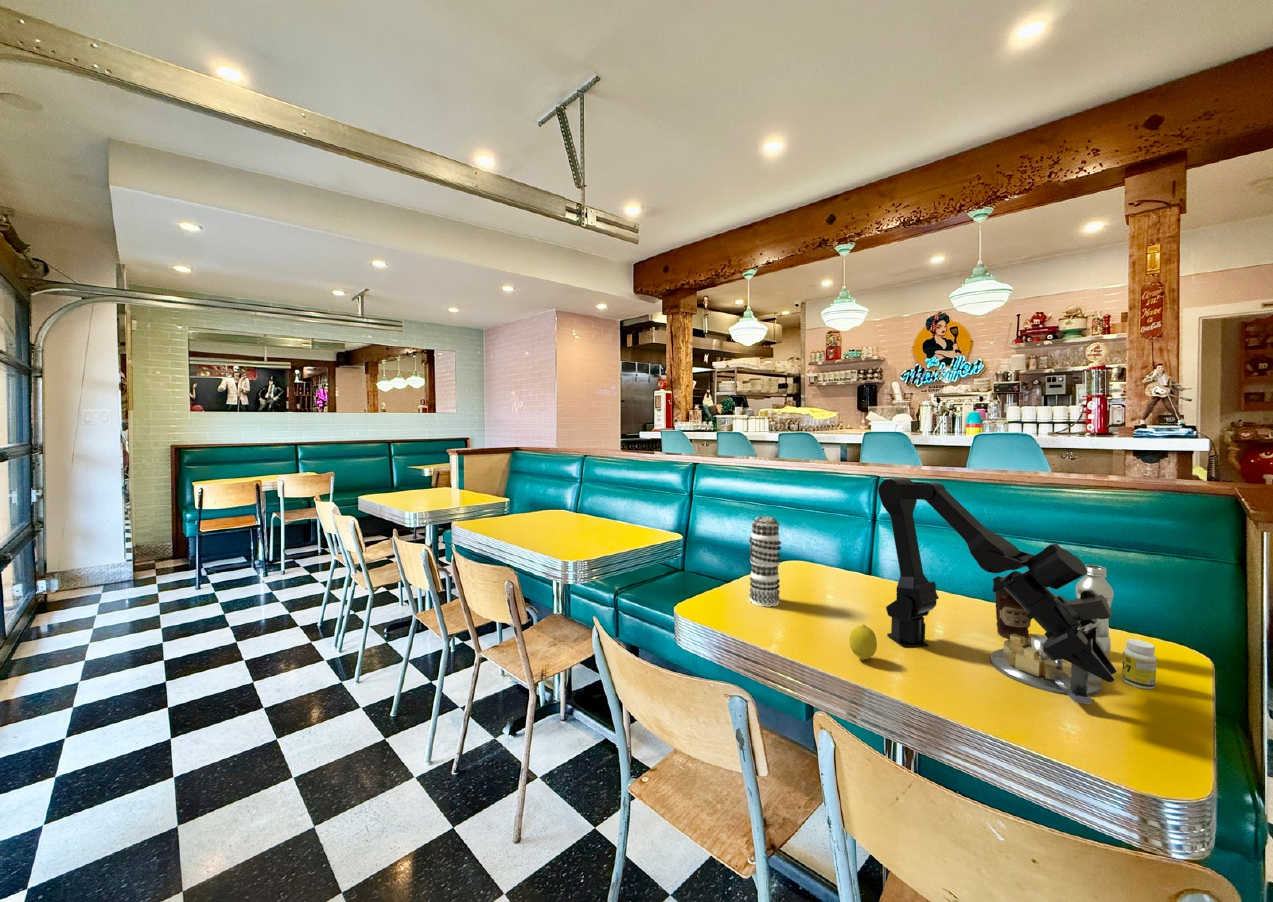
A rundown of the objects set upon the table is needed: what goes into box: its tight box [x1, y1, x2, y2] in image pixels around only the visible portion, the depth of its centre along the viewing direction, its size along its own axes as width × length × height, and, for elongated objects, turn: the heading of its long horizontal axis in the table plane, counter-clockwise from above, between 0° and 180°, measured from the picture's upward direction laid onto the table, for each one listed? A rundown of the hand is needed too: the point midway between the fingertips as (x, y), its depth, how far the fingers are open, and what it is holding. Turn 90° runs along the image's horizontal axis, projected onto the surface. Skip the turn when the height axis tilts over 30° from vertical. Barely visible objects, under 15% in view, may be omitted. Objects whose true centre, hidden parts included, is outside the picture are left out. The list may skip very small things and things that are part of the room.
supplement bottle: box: [1121, 638, 1158, 690], centre depth 99 cm, size 5×5×8 cm
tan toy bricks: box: [1003, 633, 1092, 705], centre depth 100 cm, size 22×13×10 cm, turn 161°
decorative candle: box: [748, 516, 782, 608], centre depth 145 cm, size 9×9×25 cm
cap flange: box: [990, 634, 1103, 696], centre depth 104 cm, size 18×18×7 cm
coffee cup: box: [994, 588, 1032, 639], centre depth 122 cm, size 9×8×13 cm
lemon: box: [848, 623, 878, 661], centre depth 109 cm, size 6×6×8 cm
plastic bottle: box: [1075, 564, 1115, 655], centre depth 112 cm, size 6×7×20 cm
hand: (1113, 677), depth 88 cm, fingers open, 4 cm apart
